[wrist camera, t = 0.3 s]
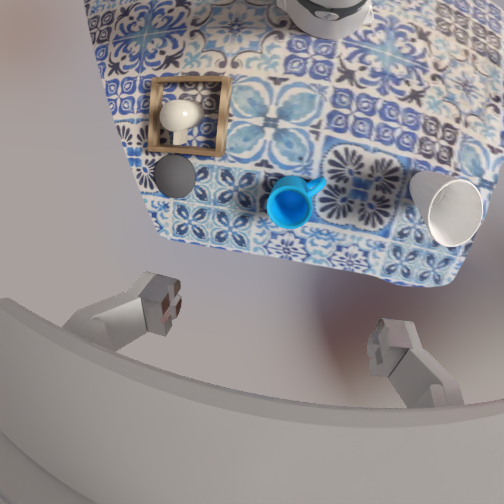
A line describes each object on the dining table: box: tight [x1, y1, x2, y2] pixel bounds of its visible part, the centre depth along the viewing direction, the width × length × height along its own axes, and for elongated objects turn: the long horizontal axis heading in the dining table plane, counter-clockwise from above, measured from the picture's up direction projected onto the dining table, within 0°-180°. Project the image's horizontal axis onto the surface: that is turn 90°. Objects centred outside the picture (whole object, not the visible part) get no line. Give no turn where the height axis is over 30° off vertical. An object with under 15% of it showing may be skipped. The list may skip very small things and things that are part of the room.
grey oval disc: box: [154, 154, 196, 198], centre depth 58 cm, size 10×10×1 cm
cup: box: [409, 171, 483, 247], centre depth 42 cm, size 12×12×16 cm
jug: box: [160, 100, 205, 145], centre depth 48 cm, size 9×6×8 cm
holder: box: [148, 76, 233, 157], centre depth 49 cm, size 16×16×4 cm
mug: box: [266, 175, 326, 229], centre depth 51 cm, size 12×8×8 cm
